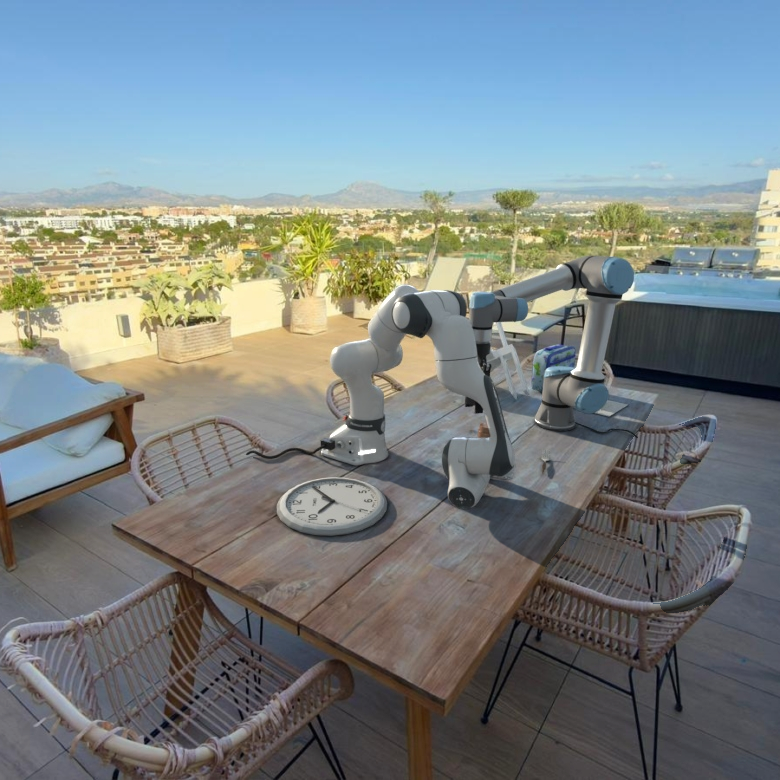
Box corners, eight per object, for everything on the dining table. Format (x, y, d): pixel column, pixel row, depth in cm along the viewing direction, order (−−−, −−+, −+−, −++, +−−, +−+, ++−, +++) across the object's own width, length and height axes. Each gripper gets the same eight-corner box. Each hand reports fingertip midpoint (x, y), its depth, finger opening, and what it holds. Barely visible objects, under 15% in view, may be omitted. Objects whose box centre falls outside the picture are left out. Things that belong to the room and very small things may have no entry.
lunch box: (547, 397, 237) (552, 352, 231) (526, 391, 245) (531, 348, 238) (574, 386, 255) (580, 344, 249) (554, 381, 262) (559, 340, 256)
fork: (538, 474, 162) (538, 468, 162) (542, 454, 177) (542, 449, 176) (546, 475, 162) (547, 470, 161) (550, 455, 176) (550, 450, 175)
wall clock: (392, 527, 129) (268, 531, 127) (391, 533, 130) (269, 537, 127) (383, 473, 158) (282, 475, 155) (383, 478, 158) (282, 480, 156)
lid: (480, 399, 176) (480, 394, 176) (485, 405, 170) (486, 399, 170) (462, 400, 175) (463, 394, 175) (467, 406, 169) (468, 400, 169)
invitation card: (608, 416, 214) (573, 407, 224) (608, 416, 214) (573, 408, 224) (628, 404, 229) (594, 396, 238) (628, 405, 229) (594, 397, 238)
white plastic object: (461, 429, 252) (437, 405, 227) (444, 352, 274) (420, 323, 250) (535, 404, 240) (518, 377, 215) (510, 326, 262) (492, 293, 237)
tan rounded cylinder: (489, 481, 158) (493, 429, 153) (472, 477, 160) (476, 426, 155) (493, 474, 162) (497, 423, 157) (477, 471, 164) (481, 421, 159)
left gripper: (513, 469, 143) (520, 450, 155) (441, 457, 150) (454, 439, 163) (511, 490, 145) (518, 470, 157) (440, 476, 152) (452, 458, 164)
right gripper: (455, 336, 174) (450, 401, 181) (483, 348, 157) (477, 420, 164) (475, 335, 177) (470, 400, 183) (505, 347, 159) (498, 418, 166)
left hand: (485, 454), depth 160 cm, fingers closed on tan rounded cylinder, 5 cm apart
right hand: (473, 409), depth 174 cm, fingers closed on lid, 6 cm apart
